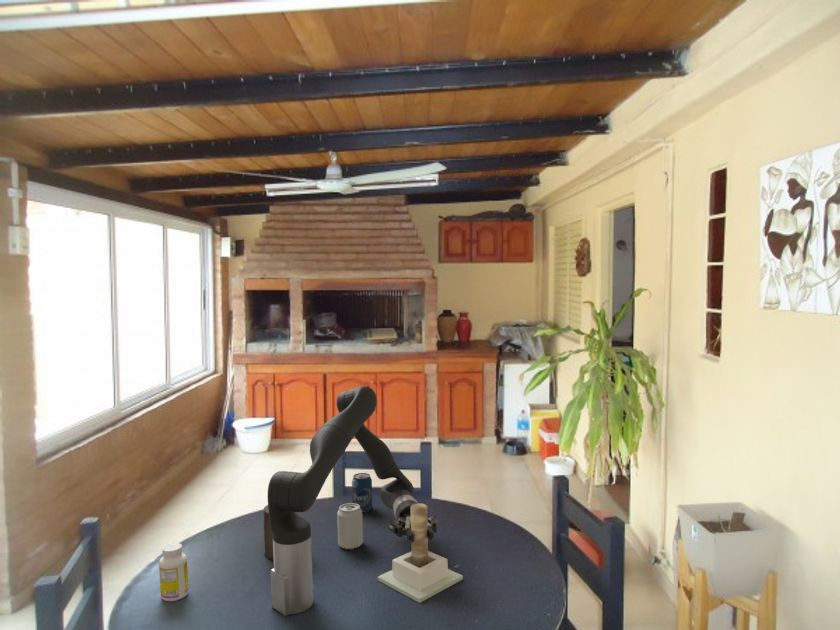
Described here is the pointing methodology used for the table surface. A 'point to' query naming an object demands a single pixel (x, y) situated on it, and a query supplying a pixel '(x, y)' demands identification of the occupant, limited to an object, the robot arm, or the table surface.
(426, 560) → the peg
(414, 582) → the socket
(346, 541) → the can
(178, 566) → the supplement bottle
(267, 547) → the pillar candle
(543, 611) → the table surface
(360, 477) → the soda can
